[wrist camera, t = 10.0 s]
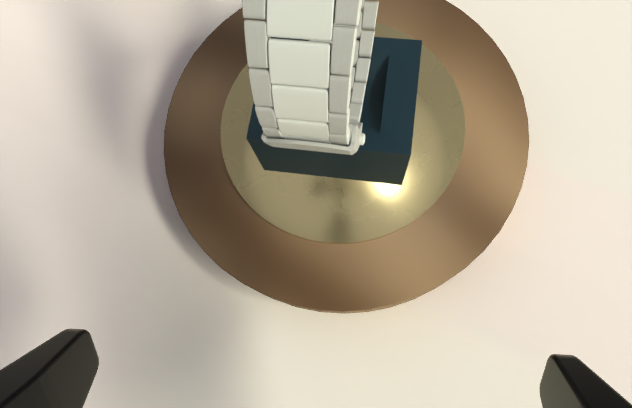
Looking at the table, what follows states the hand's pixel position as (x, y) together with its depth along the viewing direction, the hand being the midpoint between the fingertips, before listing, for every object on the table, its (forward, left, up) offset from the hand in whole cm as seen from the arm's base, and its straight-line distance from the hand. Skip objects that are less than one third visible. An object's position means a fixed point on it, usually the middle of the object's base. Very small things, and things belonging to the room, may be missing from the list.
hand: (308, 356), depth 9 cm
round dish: (+7, +5, -10) cm, 13 cm away
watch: (+7, +5, -8) cm, 12 cm away
